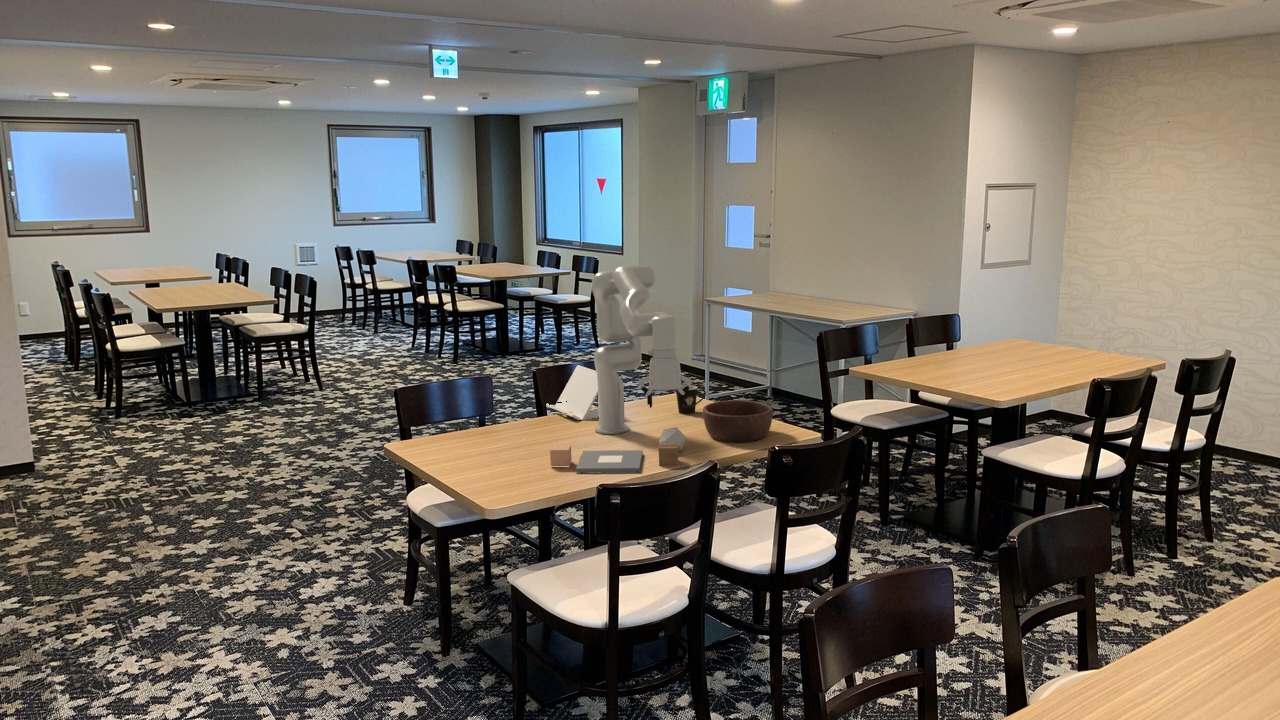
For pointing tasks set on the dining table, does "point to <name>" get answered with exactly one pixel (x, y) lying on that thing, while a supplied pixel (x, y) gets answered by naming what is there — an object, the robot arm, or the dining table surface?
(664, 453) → the walnut block
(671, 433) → the die
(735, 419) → the wooden bowl
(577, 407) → the tablet stand
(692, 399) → the coffee mug
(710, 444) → the dining table surface
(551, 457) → the terracotta block
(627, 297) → the robot arm
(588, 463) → the baseboard
